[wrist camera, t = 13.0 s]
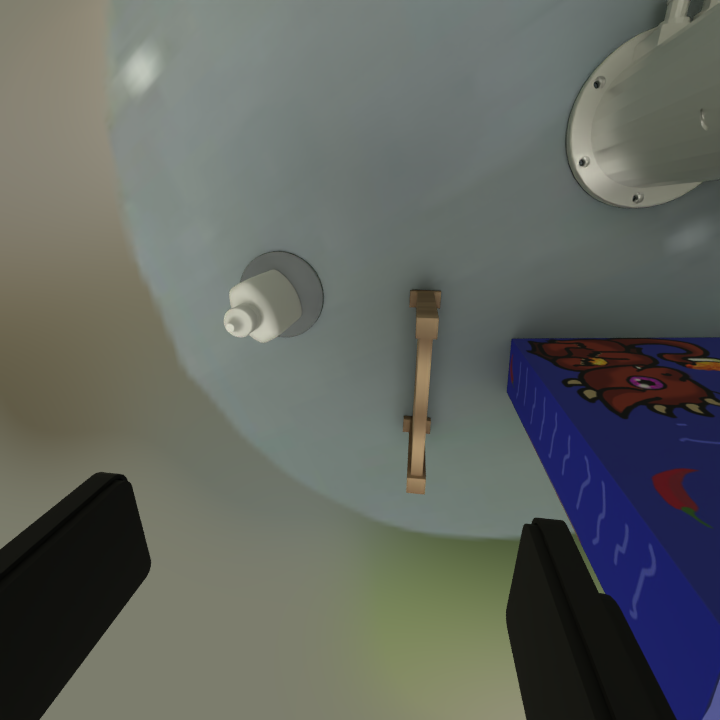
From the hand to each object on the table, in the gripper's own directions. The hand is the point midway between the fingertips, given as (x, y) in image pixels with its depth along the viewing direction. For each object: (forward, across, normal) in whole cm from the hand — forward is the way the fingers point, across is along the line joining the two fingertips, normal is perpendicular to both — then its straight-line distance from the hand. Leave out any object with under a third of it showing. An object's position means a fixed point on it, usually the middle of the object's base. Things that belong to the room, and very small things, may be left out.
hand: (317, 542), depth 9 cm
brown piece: (+32, -3, +8) cm, 33 cm away
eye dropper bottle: (+32, +12, +1) cm, 34 cm away
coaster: (+32, +12, +1) cm, 34 cm away
